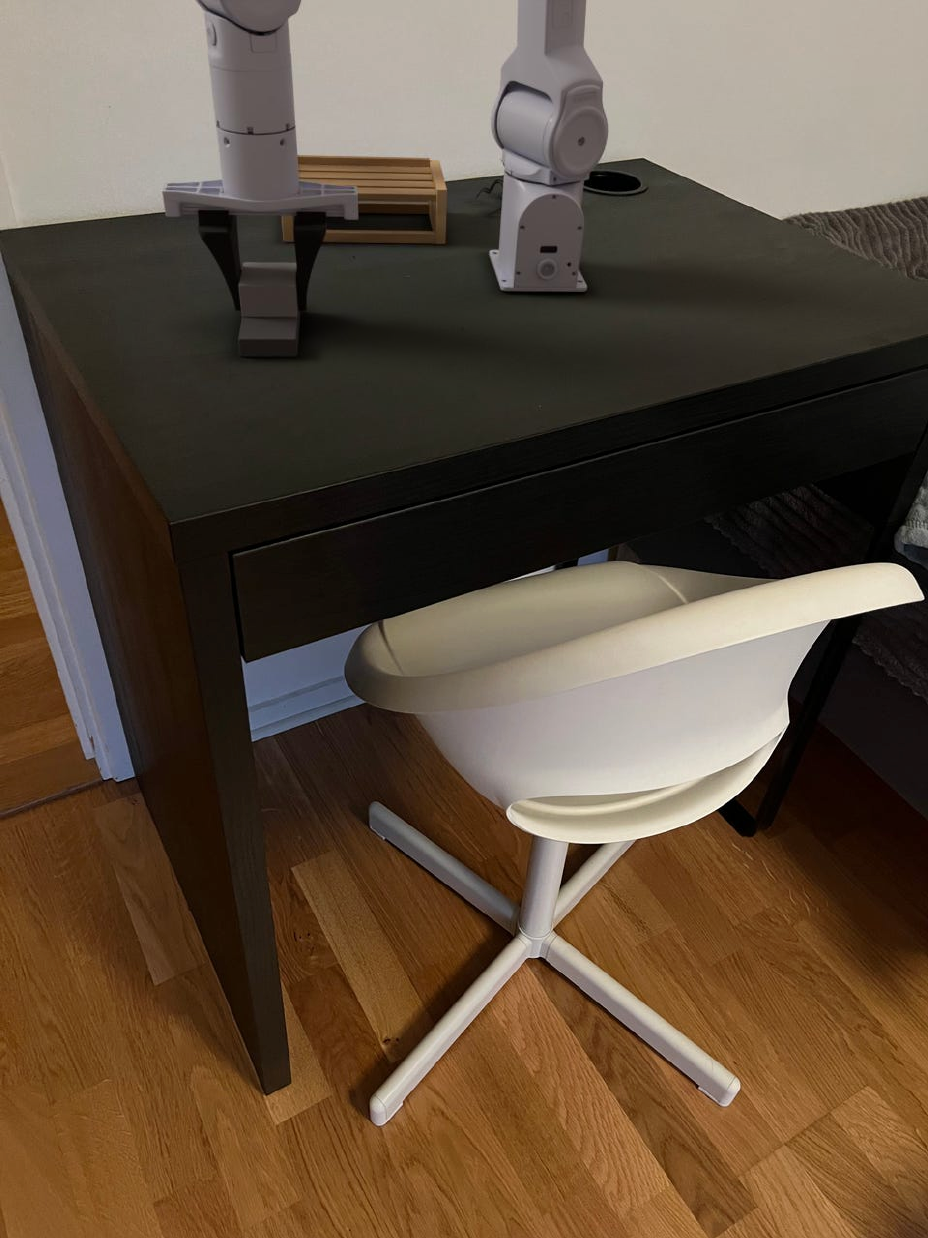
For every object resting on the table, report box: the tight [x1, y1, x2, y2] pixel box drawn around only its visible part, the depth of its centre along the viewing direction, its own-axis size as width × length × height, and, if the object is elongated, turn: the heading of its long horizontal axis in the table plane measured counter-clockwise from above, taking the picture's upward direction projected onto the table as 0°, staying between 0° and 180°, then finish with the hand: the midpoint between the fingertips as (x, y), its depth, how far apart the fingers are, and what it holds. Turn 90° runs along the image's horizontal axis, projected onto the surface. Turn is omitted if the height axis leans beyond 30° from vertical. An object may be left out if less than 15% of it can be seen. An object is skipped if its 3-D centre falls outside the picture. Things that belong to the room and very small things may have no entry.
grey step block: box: [237, 261, 301, 358], centre depth 76 cm, size 9×4×4 cm, turn 6°
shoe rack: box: [281, 154, 448, 245], centre depth 96 cm, size 10×16×5 cm, turn 96°
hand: (271, 305), depth 78 cm, fingers closed on grey step block, 4 cm apart
